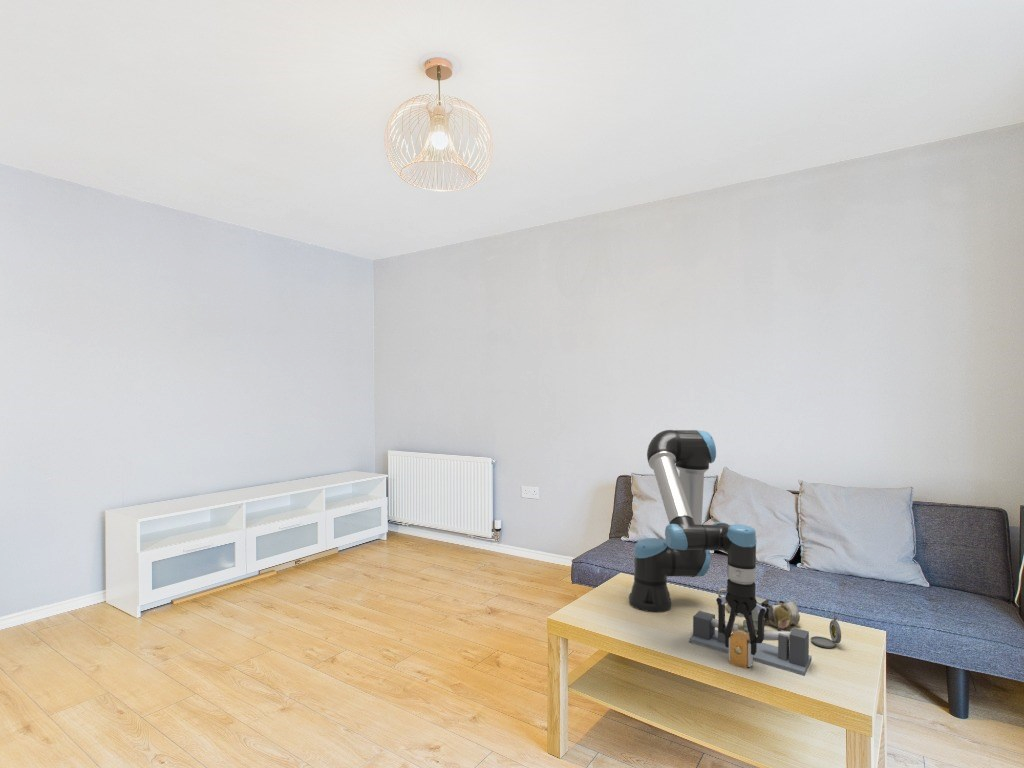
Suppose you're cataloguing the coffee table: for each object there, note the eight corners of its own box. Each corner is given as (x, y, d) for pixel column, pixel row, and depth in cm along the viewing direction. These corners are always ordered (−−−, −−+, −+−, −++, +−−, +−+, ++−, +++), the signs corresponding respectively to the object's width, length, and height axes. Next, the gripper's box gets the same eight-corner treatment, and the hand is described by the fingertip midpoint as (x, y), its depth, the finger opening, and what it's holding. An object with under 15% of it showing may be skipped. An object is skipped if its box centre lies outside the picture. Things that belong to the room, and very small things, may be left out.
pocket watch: (805, 641, 170) (806, 609, 170) (824, 637, 173) (824, 605, 173) (830, 652, 162) (830, 619, 162) (848, 648, 165) (849, 615, 166)
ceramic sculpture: (809, 601, 180) (780, 611, 173) (810, 627, 180) (781, 638, 173) (780, 591, 189) (751, 600, 182) (781, 616, 189) (752, 626, 182)
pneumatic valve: (767, 639, 170) (768, 601, 171) (731, 627, 179) (731, 591, 179) (774, 634, 174) (774, 597, 175) (737, 623, 182) (738, 587, 183)
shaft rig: (688, 641, 167) (689, 612, 168) (701, 629, 177) (701, 601, 177) (804, 675, 148) (804, 642, 148) (811, 659, 158) (811, 628, 158)
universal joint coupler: (745, 669, 151) (746, 640, 151) (729, 664, 153) (729, 636, 154) (750, 661, 155) (751, 633, 156) (735, 657, 158) (735, 629, 158)
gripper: (706, 577, 157) (705, 657, 157) (771, 590, 147) (770, 677, 146) (714, 570, 163) (713, 648, 163) (777, 583, 153) (776, 666, 152)
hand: (740, 661), depth 154 cm, fingers open, 4 cm apart
